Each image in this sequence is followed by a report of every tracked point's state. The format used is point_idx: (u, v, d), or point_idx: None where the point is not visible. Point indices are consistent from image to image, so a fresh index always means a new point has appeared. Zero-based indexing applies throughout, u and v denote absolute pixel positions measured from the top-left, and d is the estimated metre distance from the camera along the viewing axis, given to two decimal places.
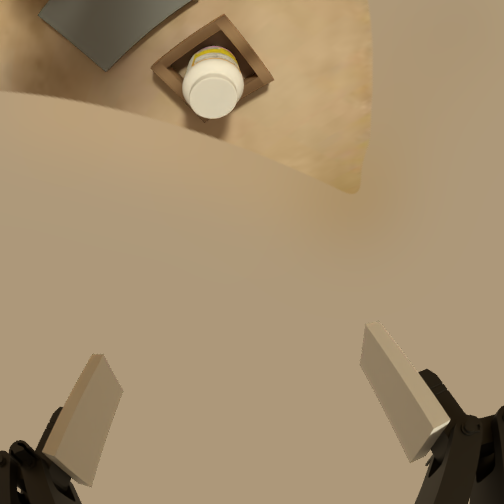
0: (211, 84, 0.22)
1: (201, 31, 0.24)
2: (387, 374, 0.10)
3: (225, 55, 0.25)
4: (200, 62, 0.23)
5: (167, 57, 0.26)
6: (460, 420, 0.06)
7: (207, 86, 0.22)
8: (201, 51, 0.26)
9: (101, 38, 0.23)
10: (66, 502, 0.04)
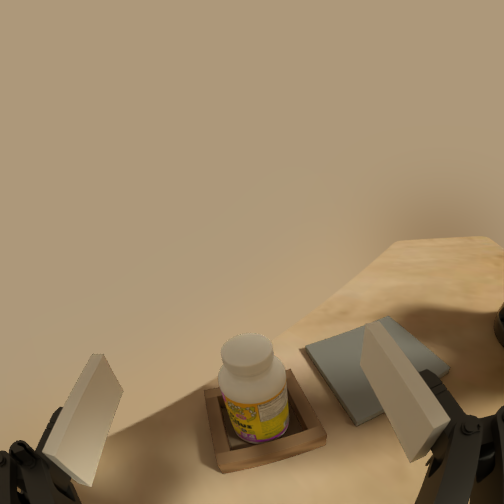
0: (263, 349, 0.23)
1: (312, 412, 0.26)
2: (387, 374, 0.10)
3: (278, 411, 0.24)
4: (285, 372, 0.25)
5: (295, 382, 0.31)
6: (460, 420, 0.06)
7: (263, 346, 0.23)
8: None
9: (340, 349, 0.37)
10: (66, 502, 0.04)
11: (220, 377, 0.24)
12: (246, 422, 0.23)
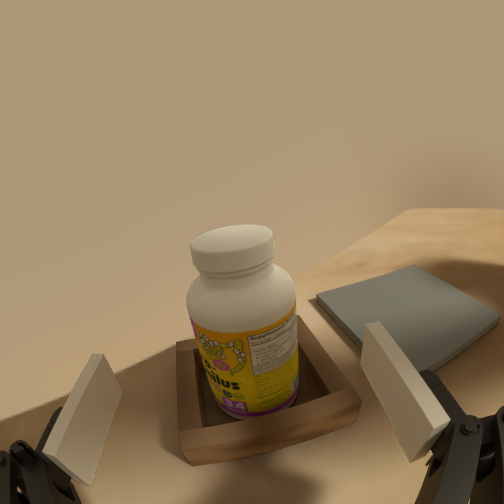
0: (258, 235, 0.15)
1: (335, 369, 0.18)
2: (387, 375, 0.10)
3: (283, 357, 0.15)
4: None
5: (306, 330, 0.23)
6: (460, 420, 0.06)
7: (257, 233, 0.15)
8: None
9: (361, 296, 0.29)
10: (66, 502, 0.04)
11: (189, 291, 0.16)
12: (230, 376, 0.15)
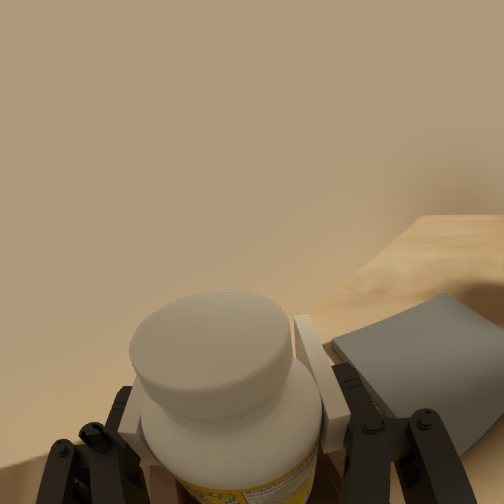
0: (260, 333, 0.07)
1: None
2: (306, 364, 0.11)
3: (297, 488, 0.07)
4: None
5: None
6: (359, 419, 0.07)
7: (258, 324, 0.07)
8: None
9: (389, 342, 0.21)
10: (134, 492, 0.06)
11: (143, 406, 0.08)
12: None
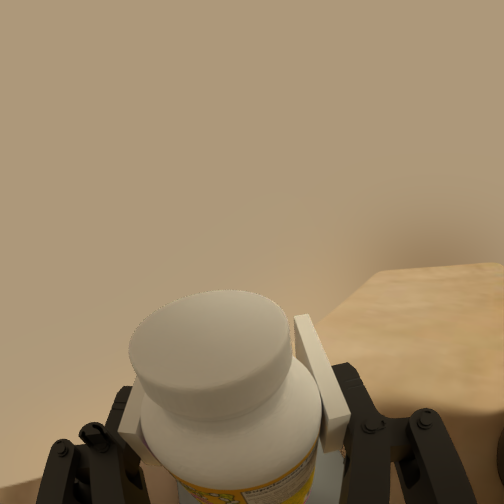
0: (259, 333, 0.07)
1: None
2: (306, 364, 0.11)
3: (297, 488, 0.07)
4: None
5: None
6: (359, 419, 0.07)
7: (258, 324, 0.07)
8: None
9: None
10: (134, 492, 0.06)
11: (143, 405, 0.08)
12: None
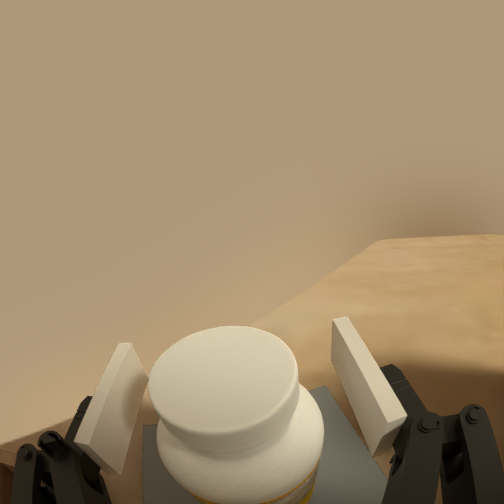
0: (271, 376, 0.07)
1: None
2: (350, 368, 0.10)
3: (300, 499, 0.08)
4: None
5: None
6: (417, 418, 0.07)
7: (269, 366, 0.08)
8: None
9: None
10: (94, 496, 0.05)
11: (159, 431, 0.08)
12: None
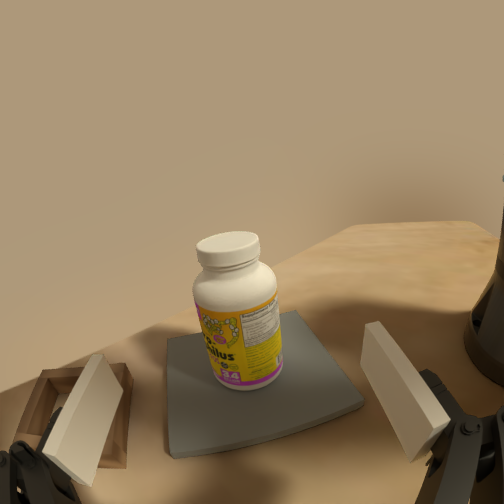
0: (247, 239, 0.20)
1: (112, 421, 0.17)
2: (387, 374, 0.10)
3: (268, 333, 0.20)
4: None
5: (118, 379, 0.22)
6: (460, 420, 0.06)
7: (246, 237, 0.20)
8: None
9: (204, 348, 0.28)
10: (66, 502, 0.04)
11: (195, 282, 0.21)
12: (226, 349, 0.20)
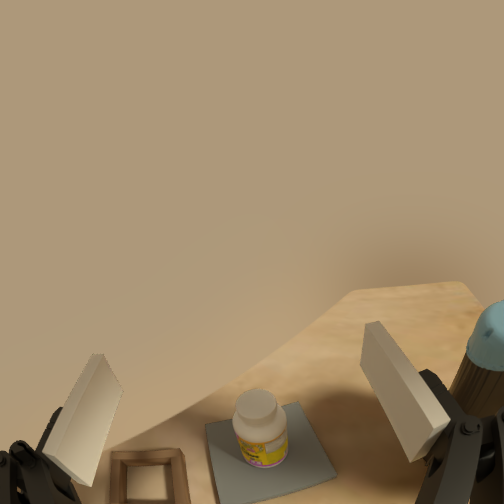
0: (269, 404, 0.27)
1: (182, 491, 0.25)
2: (387, 374, 0.10)
3: (280, 445, 0.28)
4: None
5: (178, 462, 0.29)
6: (460, 420, 0.06)
7: (269, 401, 0.28)
8: None
9: (233, 434, 0.36)
10: (66, 502, 0.04)
11: (235, 422, 0.28)
12: (255, 454, 0.27)
